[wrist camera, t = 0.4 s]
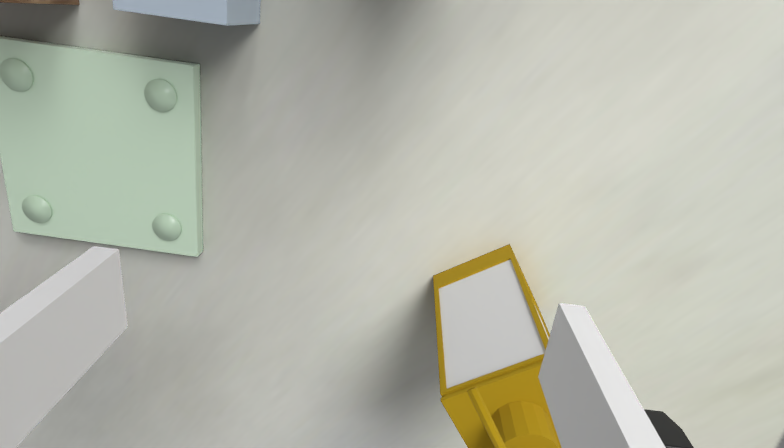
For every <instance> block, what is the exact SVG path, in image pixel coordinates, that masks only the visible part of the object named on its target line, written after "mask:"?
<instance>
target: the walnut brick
mask: <svg viewBox="0 0 784 448" xmlns="http://www.w3.org/2000/svg"><path fill="white" fill-rule="evenodd" d="M0 2H3V3H35V4H68V5H79V0H0Z"/></svg>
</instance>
